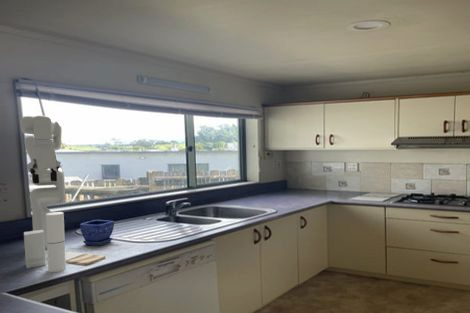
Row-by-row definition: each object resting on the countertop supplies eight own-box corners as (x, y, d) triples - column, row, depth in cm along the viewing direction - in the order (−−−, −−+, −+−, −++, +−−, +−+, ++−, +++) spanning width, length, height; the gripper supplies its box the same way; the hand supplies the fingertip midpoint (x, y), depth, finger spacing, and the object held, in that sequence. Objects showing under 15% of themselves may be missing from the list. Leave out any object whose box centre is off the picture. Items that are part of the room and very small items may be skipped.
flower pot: (96, 239, 234) (95, 219, 233) (115, 241, 229) (114, 220, 229) (79, 245, 221) (79, 223, 221) (100, 247, 217) (99, 225, 216)
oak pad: (67, 262, 191) (67, 260, 191) (85, 255, 202) (85, 253, 202) (87, 265, 186) (87, 263, 186) (105, 258, 197) (105, 256, 197)
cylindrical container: (50, 273, 176) (47, 215, 175) (46, 269, 182) (44, 213, 181) (67, 269, 180) (65, 213, 179) (63, 265, 186) (61, 211, 185)
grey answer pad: (46, 260, 196) (46, 258, 196) (65, 253, 207) (65, 251, 207) (65, 262, 191) (65, 260, 191) (84, 255, 202) (84, 253, 202)
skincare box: (45, 261, 193) (43, 229, 192) (45, 265, 187) (44, 231, 186) (25, 264, 189) (23, 231, 188) (25, 268, 183) (23, 234, 182)
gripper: (52, 143, 191) (54, 180, 191) (20, 144, 175) (22, 184, 175) (65, 143, 188) (66, 180, 188) (33, 143, 172) (34, 184, 172)
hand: (45, 182), depth 182 cm, fingers open, 9 cm apart
